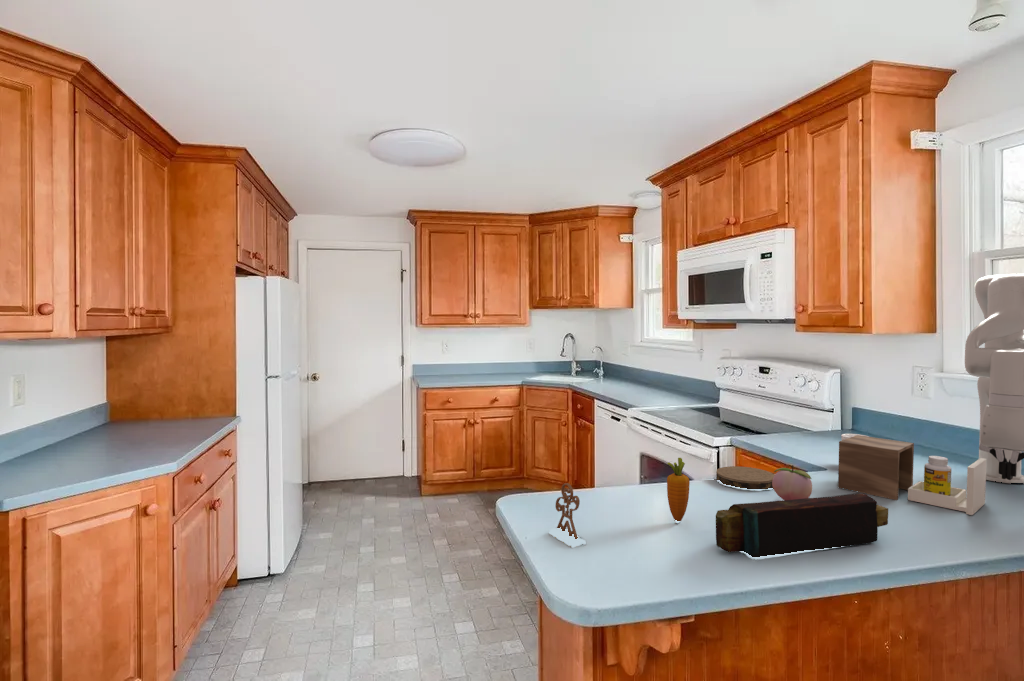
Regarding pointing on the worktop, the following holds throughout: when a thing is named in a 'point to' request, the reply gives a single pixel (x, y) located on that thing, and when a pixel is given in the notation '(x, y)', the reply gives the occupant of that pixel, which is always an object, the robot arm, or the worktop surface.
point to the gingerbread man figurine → (567, 513)
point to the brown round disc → (745, 477)
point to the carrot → (678, 490)
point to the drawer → (957, 491)
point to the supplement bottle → (937, 476)
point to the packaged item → (799, 524)
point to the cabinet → (875, 465)
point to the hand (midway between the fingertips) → (1007, 478)
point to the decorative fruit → (792, 484)
